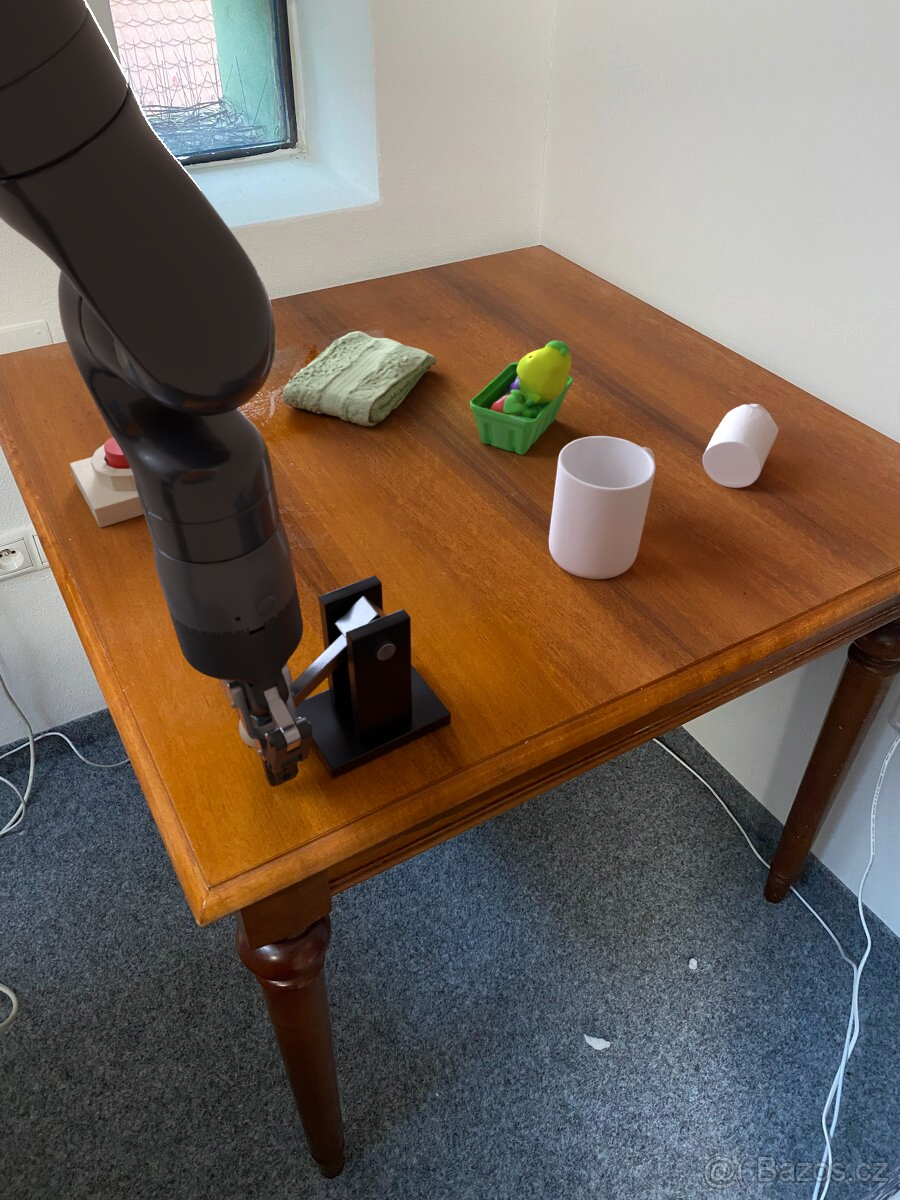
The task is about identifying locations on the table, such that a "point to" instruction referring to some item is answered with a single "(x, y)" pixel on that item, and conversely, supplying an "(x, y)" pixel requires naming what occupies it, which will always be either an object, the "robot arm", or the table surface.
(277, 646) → the robot arm
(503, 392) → the fruit basket
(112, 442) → the button
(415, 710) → the bracket
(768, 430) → the white bottle
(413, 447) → the table surface
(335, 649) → the lever
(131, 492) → the button box
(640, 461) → the cup
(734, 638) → the table surface
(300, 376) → the washcloth
